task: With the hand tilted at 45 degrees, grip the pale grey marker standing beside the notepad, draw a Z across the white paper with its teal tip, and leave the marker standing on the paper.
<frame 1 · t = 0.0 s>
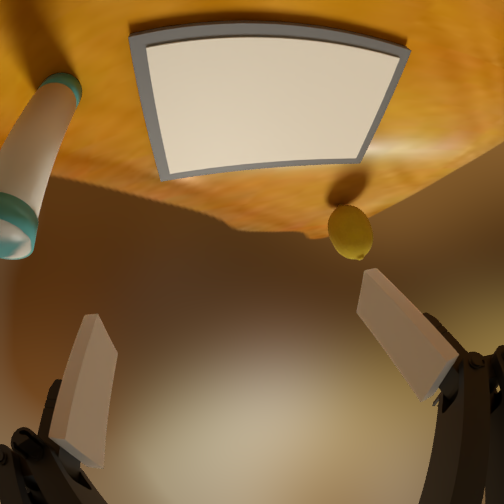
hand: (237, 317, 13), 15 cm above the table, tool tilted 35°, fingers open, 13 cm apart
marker: (59, 93, 13), on the table
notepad: (276, 101, 19), on the table
lemon: (339, 204, 35), on the table
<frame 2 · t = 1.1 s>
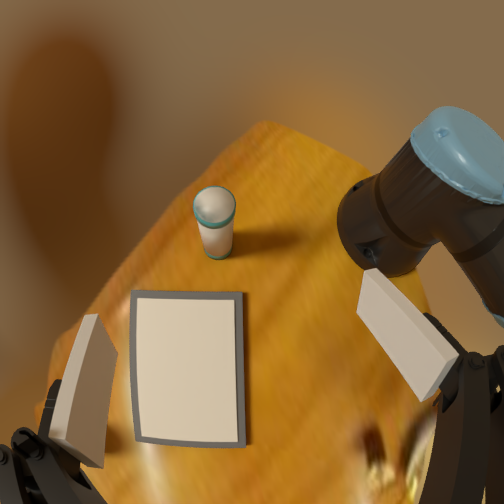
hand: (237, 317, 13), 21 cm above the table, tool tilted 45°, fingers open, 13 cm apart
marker: (218, 246, 36), on the table
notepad: (185, 372, 31), on the table
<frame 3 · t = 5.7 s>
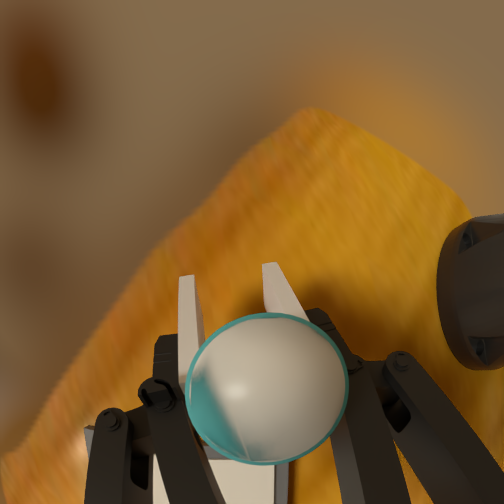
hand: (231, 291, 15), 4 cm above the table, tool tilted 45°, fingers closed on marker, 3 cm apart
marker: (240, 358, 17), on the table, touching gripper
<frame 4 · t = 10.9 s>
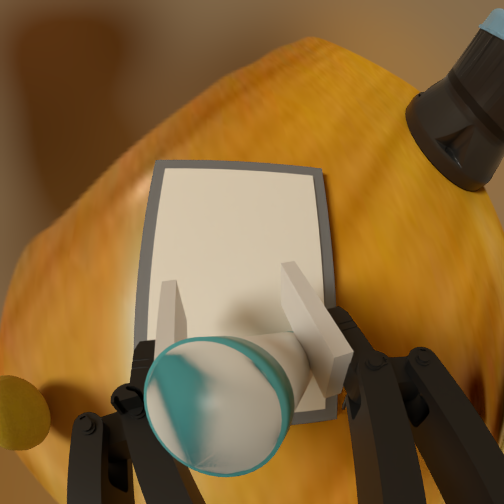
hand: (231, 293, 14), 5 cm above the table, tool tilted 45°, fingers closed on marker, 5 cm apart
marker: (290, 358, 17), point 2 cm above the table, tilted 24°, touching gripper, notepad
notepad: (237, 286, 20), on the table
lemon: (42, 405, 15), on the table
when the fingers open (5 cm above the table, at t = 16.0 s): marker stays where it is, resting on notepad.
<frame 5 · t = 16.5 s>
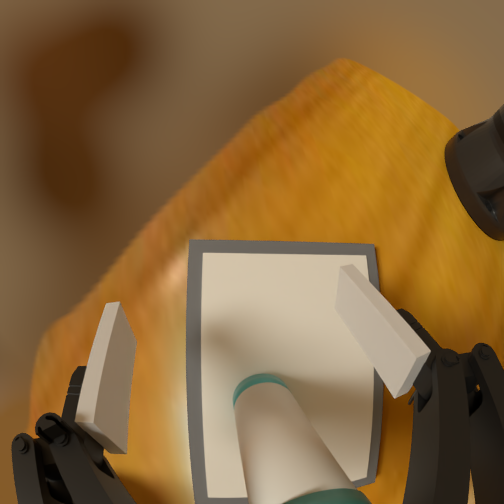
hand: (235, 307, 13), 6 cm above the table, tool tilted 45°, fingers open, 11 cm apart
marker: (261, 398, 16), point 1 cm above the table, tilted 14°, touching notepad
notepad: (290, 383, 18), on the table
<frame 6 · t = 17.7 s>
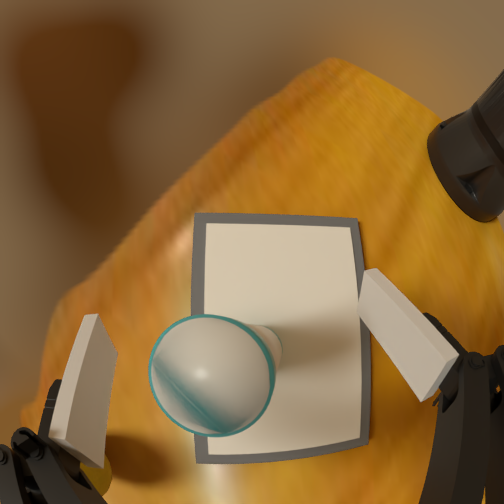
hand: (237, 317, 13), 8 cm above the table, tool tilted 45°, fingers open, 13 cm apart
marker: (256, 350, 19), point 1 cm above the table, tilted 14°, touching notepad
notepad: (284, 340, 20), on the table
lemon: (96, 453, 16), on the table
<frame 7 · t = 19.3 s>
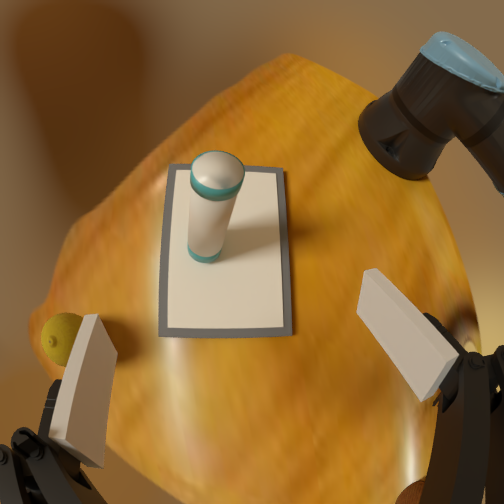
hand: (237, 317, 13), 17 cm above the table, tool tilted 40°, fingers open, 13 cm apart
disposable coffee cup: (409, 495, 25), on the table
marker: (204, 247, 29), point 1 cm above the table, tilted 12°, touching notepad
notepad: (224, 245, 31), on the table
lemon: (86, 339, 26), on the table
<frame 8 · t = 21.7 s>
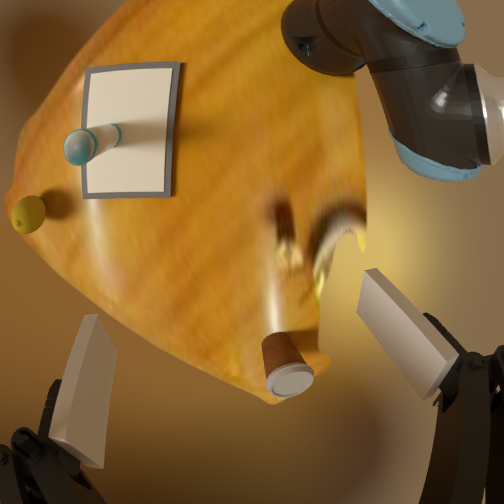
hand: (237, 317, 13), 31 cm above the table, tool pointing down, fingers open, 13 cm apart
disposable coffee cup: (275, 342, 58), on the table
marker: (109, 135, 32), point 1 cm above the table, touching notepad
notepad: (126, 130, 34), on the table
lemon: (40, 205, 35), on the table
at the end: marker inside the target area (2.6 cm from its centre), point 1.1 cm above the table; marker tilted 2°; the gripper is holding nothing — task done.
